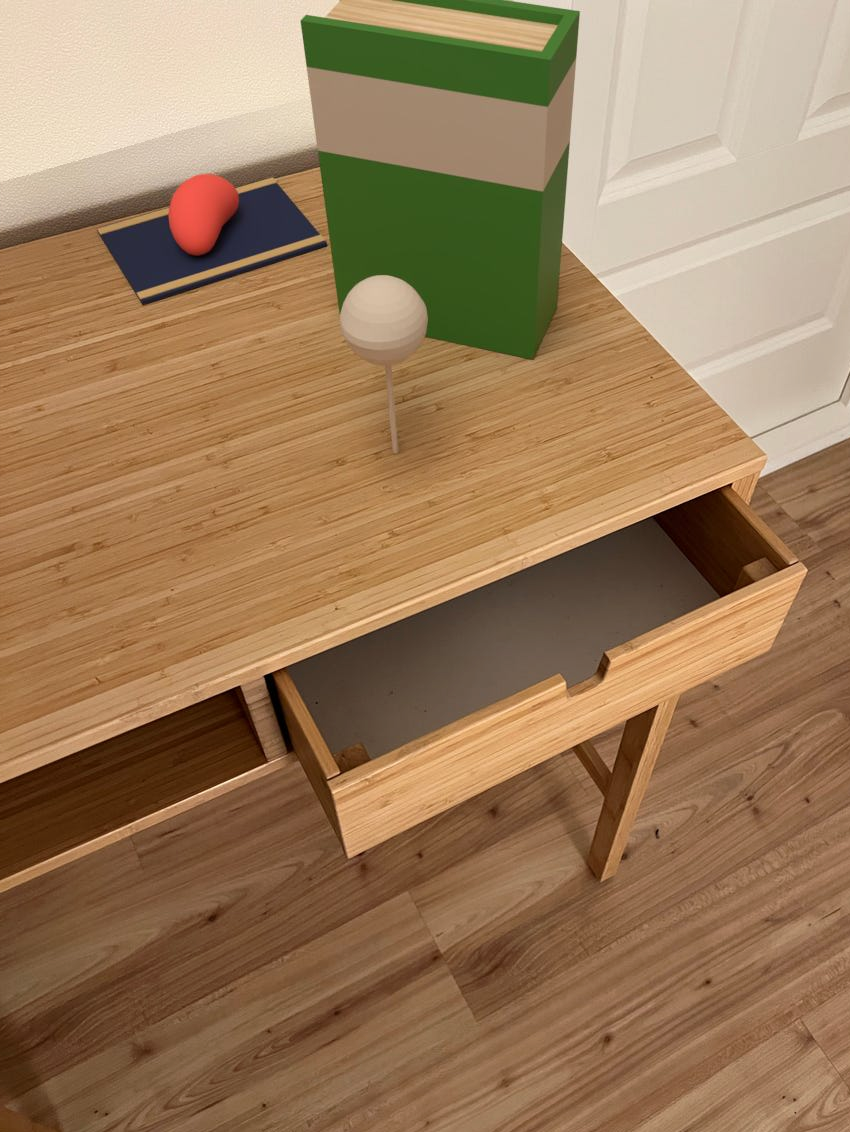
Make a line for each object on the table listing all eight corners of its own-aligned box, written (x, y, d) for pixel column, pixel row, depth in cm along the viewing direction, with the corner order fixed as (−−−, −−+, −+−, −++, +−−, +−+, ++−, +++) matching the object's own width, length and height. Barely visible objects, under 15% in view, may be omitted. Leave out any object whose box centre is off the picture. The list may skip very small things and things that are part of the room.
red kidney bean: (156, 257, 94) (148, 221, 88) (198, 179, 96) (192, 139, 89) (208, 282, 94) (203, 248, 88) (248, 204, 96) (246, 165, 90)
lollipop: (386, 414, 80) (370, 246, 68) (448, 441, 78) (443, 273, 66) (341, 461, 77) (316, 293, 65) (405, 490, 75) (391, 323, 63)
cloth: (142, 305, 88) (141, 300, 88) (97, 231, 95) (95, 227, 94) (327, 246, 93) (326, 241, 93) (272, 180, 100) (271, 175, 99)
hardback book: (340, 318, 87) (300, 20, 67) (371, 270, 91) (342, -24, 72) (533, 359, 84) (550, 59, 64) (557, 307, 88) (579, 11, 68)
